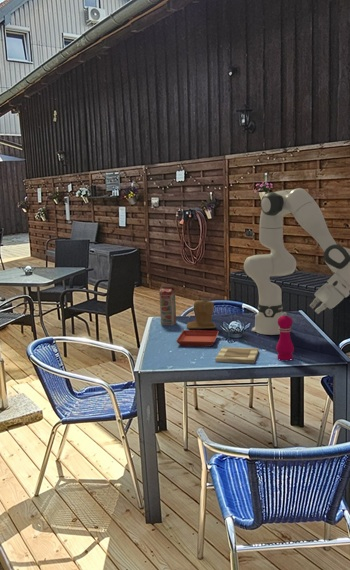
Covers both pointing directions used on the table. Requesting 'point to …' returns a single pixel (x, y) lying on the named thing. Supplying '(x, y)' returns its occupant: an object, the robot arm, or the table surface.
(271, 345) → the table surface
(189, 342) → the plant saucer
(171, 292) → the juice carton
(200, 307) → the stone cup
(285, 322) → the pepper mill
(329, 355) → the table surface
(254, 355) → the birch board
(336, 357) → the table surface
